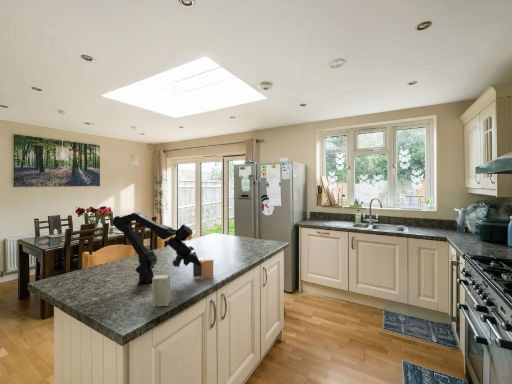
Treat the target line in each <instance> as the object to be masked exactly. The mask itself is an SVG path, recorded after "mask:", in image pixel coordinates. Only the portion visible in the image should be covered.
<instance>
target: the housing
mask: <svg viewBox="0 0 512 384" xmlns="http://www.w3.org/2000/svg"><path fill="white" fill-rule="evenodd" d="M198 259H199V261H200V264H201V261H204V260H211V259H210V256H205V257H198ZM192 279H193V280H201V266H198V265H196V264H194V263H192Z"/></svg>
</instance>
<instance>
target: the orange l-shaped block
mask: <svg viewBox="0 0 512 384" xmlns="http://www.w3.org/2000/svg"><path fill="white" fill-rule="evenodd" d="M210 278H214V259H210V260H204V261H201V279H200V280H201V281H205V279H210Z"/></svg>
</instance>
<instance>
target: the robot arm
mask: <svg viewBox="0 0 512 384" xmlns="http://www.w3.org/2000/svg"><path fill="white" fill-rule="evenodd" d="M133 222H136V223H138V224H140V225H141V226H143V227H145V228H146V229H149V230H150V231H152V232H153V233H154V234H155V235H156V236H157V237H158V238H159V239H160V240H164V242H163V243H164V246H163V247H164V248H166V247H168V246H169V247H170V248H171V249H172V250H173V251H175V258H174V259H173V260H172V263H171V264H172V266H174V268H175V267H176V268H180V266H181V263H182V260H183V265H184V266H185V267H187V266H188V265H190V263H191V264H193V263H194V264H196V265H198V266H201V264H200V261H199V259H198V258H199V257H198V255H197V253H196V251H194V250H195V248H194V247H193V246H191V245H189V246H188V245H187V243H185V242H184V241H186V240H187V239H188V238H190V237H191V236H192V235H193V234H194V232H193V229H192V228H190V227H189V226H187V225H185V224H181V226H180V227H179V228H178V229H173V228H172V227H171V226H168V225H166V224H160V223H158V222H157V221H154V220H153V219H152V218H151V219H150V218H149V217H148V216H146V215H144V214H142V213H141V212H139V211H137V212H132V213H129V214H122V215H117V216H115V217H113V219H112V222H111V223H112V226H114V227H115V229H116V230H118V231H119V232H121V233H122V234H124V236H125V237H126V239H127V241H128V243H129V244H130V246H131V247H132V248H133V249H134V251H135V253H136V254H137V257H138V263H139V265H138V266H137V267H136V268H135V272H136V273H137V274H138V280H137V282H138V285H139V286H140V285H141V286H142V285H147V284H152V278H153V277H154V271H153V269H154V267H155V265H157V263H158V258H157V257H158V256H157V255H156V253H155V252H154V250H151V251H149V250H148V249H147V248H146V246H145V245H144V243H143V242H142V240H141V239H140V237H139V235H138V234H137V233H136V231H135V230H134V228H133ZM167 239H168V240H167ZM192 251H194V252H192Z"/></svg>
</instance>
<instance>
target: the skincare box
mask: <svg viewBox="0 0 512 384" xmlns="http://www.w3.org/2000/svg"><path fill="white" fill-rule="evenodd" d="M151 285H152V308H156V307H155V306H167V307H169V305H170V303H171V275H170V274H155V275H153V278H152V283H151Z"/></svg>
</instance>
